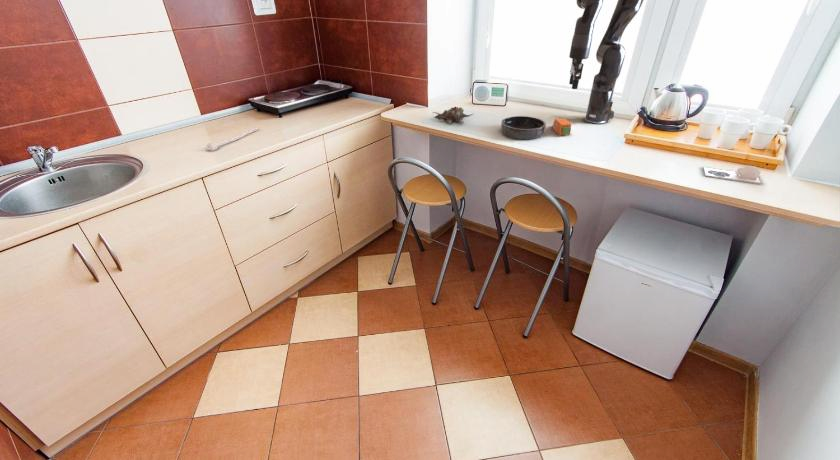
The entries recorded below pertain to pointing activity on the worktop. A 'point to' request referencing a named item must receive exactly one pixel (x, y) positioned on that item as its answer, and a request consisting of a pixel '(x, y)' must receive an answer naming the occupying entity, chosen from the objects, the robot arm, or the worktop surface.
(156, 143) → the worktop surface
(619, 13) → the robot arm
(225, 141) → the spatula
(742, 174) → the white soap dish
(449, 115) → the figurine
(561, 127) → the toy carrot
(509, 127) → the pan
